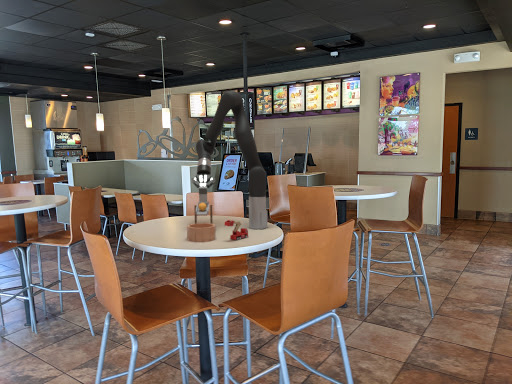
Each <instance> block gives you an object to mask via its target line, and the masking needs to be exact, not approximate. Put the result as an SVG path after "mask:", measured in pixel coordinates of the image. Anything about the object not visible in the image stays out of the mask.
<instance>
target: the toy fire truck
mask: <svg viewBox="0 0 512 384" xmlns="http://www.w3.org/2000/svg"><path fill="white" fill-rule="evenodd" d="M241 225H242V223H241V222H240V221H236V220H231V219H227V220H225V221H224V226H226V227H233V226H234V229H233V230H232V234H230V235H229V237H230V238H229V239H230V240H233V241H235V240H236V241H238V240H241V239H244V238H245V239H247V238H249V230H248V228H245V227H241ZM239 229H240V231H239Z"/></svg>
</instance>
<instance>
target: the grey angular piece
mask: <svg viewBox="0 0 512 384" xmlns="http://www.w3.org/2000/svg"><path fill="white" fill-rule="evenodd" d="M200 203H205V204H206V206H207V207H206V209H205V210H204V211H201V210H199V207H198V206H199V204H200ZM196 205H197V207H196V211H195V210H194V214H195V213H196V214H197V217H200V216H202V217H203V216H205V217H206V216H208V215H209V214H210V201H208V188H207V187H199V188H198V203H197V204H196Z"/></svg>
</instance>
